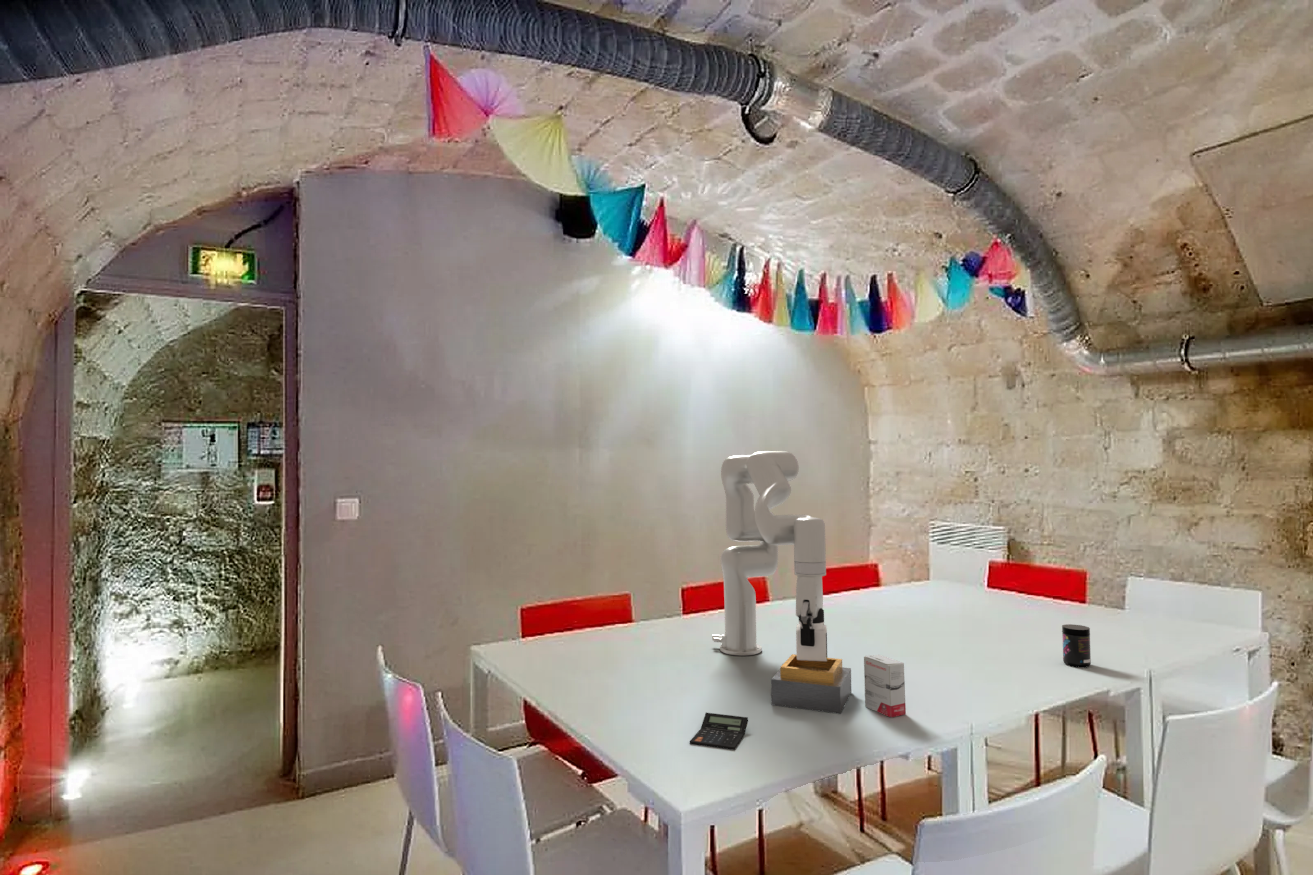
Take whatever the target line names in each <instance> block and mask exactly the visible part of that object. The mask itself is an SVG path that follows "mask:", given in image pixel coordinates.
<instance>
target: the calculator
mask: <svg viewBox="0 0 1313 875" xmlns="http://www.w3.org/2000/svg"><path fill="white" fill-rule="evenodd" d="M748 722H749V717H745V716H739V715H738V716H737V715H730V714H721V713H713V712H705V714H704V716H703V720H702V724H701V727H700V729H698V731H697V732H696V733H695V734H694V736H693V737H692V738H691V739H690V740H689V744H690V745H694V746H695V745H696V746H700V747H701V746H703V747H710V748H717V749H724V750H730V751H731V750H732V751H735V750H736V749H737V748H738V746H739V744H740V743H741V741H742V740H743V738H744V736H745V734H746V731H747V727H748Z"/></svg>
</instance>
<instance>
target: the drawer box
mask: <svg viewBox="0 0 1313 875" xmlns="http://www.w3.org/2000/svg"><path fill="white" fill-rule="evenodd" d="M770 691H771V692H770V696H771V698H770V701H771V703H770V704H771V706H778V707H784V708H785V707H786V708H793V709H799V710H807V711H809V710H810V711H817V712H823V713H830V714H831V713H833V714H840V715H841V714H842V713H843V712H842V711H843V710H844V708H845V707H846V704H847V703H848V701H849V699H850V697H851V694H852V668H851V667H845V666H844V667H843V659H842V658H832V657H827V661H826V662H825V661H804V660H797V654H796V653H795V654H793V653H792V654H790V656H789V657H788V658H787V660H785V662H783V663H782V665H781V666H780V668H779V670H778V671H777V672H776V673H775V674H774V675H773V676H772V677H771V679H770Z"/></svg>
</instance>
